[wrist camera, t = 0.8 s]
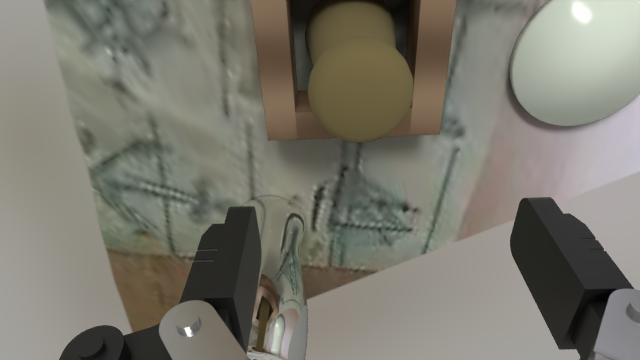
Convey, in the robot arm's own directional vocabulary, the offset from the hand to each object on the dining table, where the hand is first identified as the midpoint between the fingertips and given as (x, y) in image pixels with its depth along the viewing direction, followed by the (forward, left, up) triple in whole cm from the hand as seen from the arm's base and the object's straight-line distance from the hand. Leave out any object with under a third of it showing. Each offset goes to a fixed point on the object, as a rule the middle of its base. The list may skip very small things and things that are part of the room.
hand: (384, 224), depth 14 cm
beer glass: (+16, -7, -20) cm, 26 cm away
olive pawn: (0, 0, -20) cm, 20 cm away
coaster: (+2, +16, -19) cm, 25 cm away
